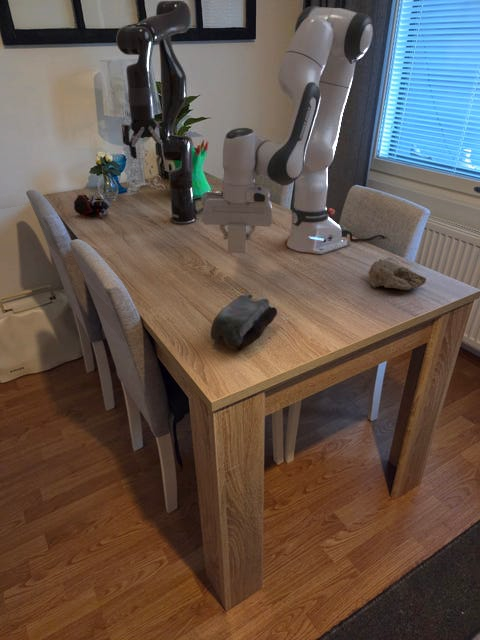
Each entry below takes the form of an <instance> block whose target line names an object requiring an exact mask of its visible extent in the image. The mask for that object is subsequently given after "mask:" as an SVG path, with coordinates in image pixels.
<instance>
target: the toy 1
mask: <svg viewBox="0 0 480 640" xmlns="http://www.w3.org/2000/svg"><path fill="white" fill-rule="evenodd" d="M95 197H96V195H95V194H90V196H87V195H86V194H78V195H77V197H76V198H75V199H74V201H73V209H74V211H75V212H76V213H77V214H78V215H80V216H82V217H88V218H93V219H99V220H100V219H101V220H102V219H103V218H102V216H101V214H102V215H103V216H107V215H108V214H109V210H108V209H109V207H110V205H111V203H110V202H109V201H108V200H107V199H106V198H100V197H98V198H95Z"/></svg>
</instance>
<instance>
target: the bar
mask: <svg viewBox="0 0 480 640" xmlns="http://www.w3.org/2000/svg"><path fill="white" fill-rule="evenodd" d="M227 232H228V239H227V253H228V254H244V255H245V254H246V250H247V240H246V233H248V226H246V224H228V225H227Z"/></svg>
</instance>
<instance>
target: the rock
mask: <svg viewBox="0 0 480 640" xmlns="http://www.w3.org/2000/svg"><path fill="white" fill-rule="evenodd" d="M277 315H278V309H277V308H276V307H274V306H271V305H270V300H269V299H268V298H261V299H258V300H253V295H252V294H248V295H247V294H246V295H245V294H241V295H239V296H238V297H237V298H235V299H234V300H232V301H231V302H229V304H227V305H226V306H225V307H223V308H222V309H221V310H220V311H219V312H218V314H217V315H216V316H215V318H214V319H213V322H212V325H211V327H210V328H211V329H210V338H211V339H212V340H213V341H214V342H216V343H221V342H224V344H225V345H226V346H227V347H228V348H230V349H231V350H235V351H236V352H241V351H242V350H243V349H245V348H246V347H248V346H249V345H251V344H253V343H255V341H257V340H258V339H259V338H260V337H261V336H262V335H263V333H264V331H265V329H266V328H267V327H268V326H269V325H270V324H272V322H273V321H274V319H275V318H276V317H277Z"/></svg>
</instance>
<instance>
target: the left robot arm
mask: <svg viewBox="0 0 480 640" xmlns="http://www.w3.org/2000/svg"><path fill="white" fill-rule="evenodd" d="M191 24H192V13H191V9H190V6H189V5H188V3H187V2H185V1H184V0H161V1H158V3H157V5H156V8H155V15H152V16H149V17H147V18H144V19H142V20H141V21H140V22H137V23H131V24H127V25H124V26H121V27H120V28H119V29H118V30H117V33H116V36H115V39H116V40H115V41H116V42H115V43H116V46H117V49H118V50H120V52H121V53H122V54H124V55H125V56H138V58H137V61H136V62H135V63H132V64H129V65H127V66H126V68H125V69H126V70H125V72H126V73H125V74H126V82H127V96H128V106H129V115H130V121H131V122H130V124H126V123H123V124H122V125H121V132H122V133H121V135H122V143H123V144H124V145H126V146H128V147H129V155H130V157H132V159H135V160H137V159H138V153H137V148H136V144H137V143H138V141H139V140H140V139H144V138H152V139H153V140H154V142H155V143H154V146H155V147H154V148H155V155H156V156H158V157H159V156H161V155H163V158H164V159H165V160H166V161H170V162H173V161H181V167H179V168H176V169H175V168H174V169H170V171H169V172H168V182H169V189H170V193H169V195H170V196H169V197H170V206H171V207H170V208H171V209H170V210H171V222H172V223H174V224H177V225H188V224H192V223H194V222H195V221H196V220H197V215H198V214H200V213H203V208H204V206H202V208H201V209H199V210H198V209H197V208H196V207H197V205H196V199H195V197H194V196H193V181H192V142H191V139H190V138H191V137H190V136H188V135H177V134H175V135H174V129H175V123H176V120H177V118H178V116H179V113H180V112H181V110H182V108H183V106H184V105H185V102H186V101H187V97H188V96H187V95H188V93H187V89H188V88H187V75H186V72H185V70H184V68H183V67H182V65H181V63H180V60H179V59H178V57H177V56H176V53H175V51H174V48H173V43H172V36H174V35H177V34H183V33H187V31H189V29H190V27H191ZM157 44H158V48H159V62H160V65H159V66H160V94H161V106H162V108H161V109H162V121H161V120H158V121H156V120H155V119H156V116H155V115H156V114H155V105H154V94H153V90H152V81H151V80H152V79H151V65H152V56H153V51H154V46H155V45H157ZM156 128H157V129H158V133H159V135H158V134H157V132H156V131H155V130H156ZM131 130H132V134H131V136H130V132H131ZM255 185H258V183H257V184H255Z"/></svg>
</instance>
